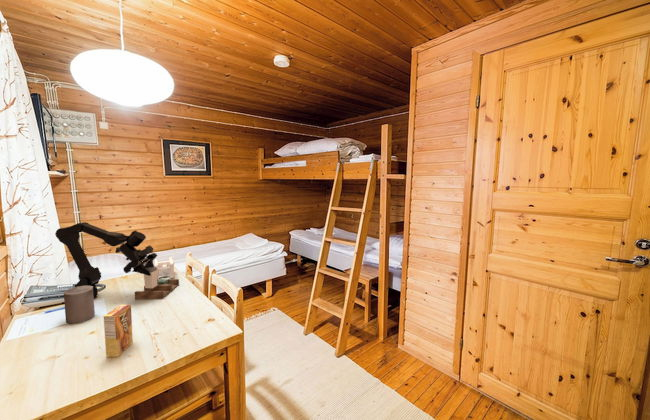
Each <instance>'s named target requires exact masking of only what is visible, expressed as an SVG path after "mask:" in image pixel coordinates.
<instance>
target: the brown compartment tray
mask: <svg viewBox="0 0 650 420" xmlns="http://www.w3.org/2000/svg"><path fill="white" fill-rule="evenodd" d="M177 286H178V287H179V286H180V279H178V278H177V279H176V278H173V279H172V278H169V279H167V278H166V279H164V278H159V279H157V286H155V287H154V288H145V285H144V286H143V290H138V291H137V290H136V291H134V300H164V299H165V298H166V297H167V296H168V295H169V293H170V292H171V293H172V292H174V290H175V288H176V287H177ZM178 287H177V288H178ZM177 288H176V289H177ZM171 293H170V294H171ZM164 297H165V298H164Z"/></svg>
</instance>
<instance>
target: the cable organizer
mask: <svg viewBox="0 0 650 420" xmlns="http://www.w3.org/2000/svg"><path fill="white" fill-rule="evenodd" d="M153 264H154V267H157V279H163V277H164V276H166V277H170V278H169V279H172V278H173V279H175V268H174V266H175V262H174V258H173V257H172V256H171V257H168V260H164V261H158V259H157V258H155V259H154V260H153Z"/></svg>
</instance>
